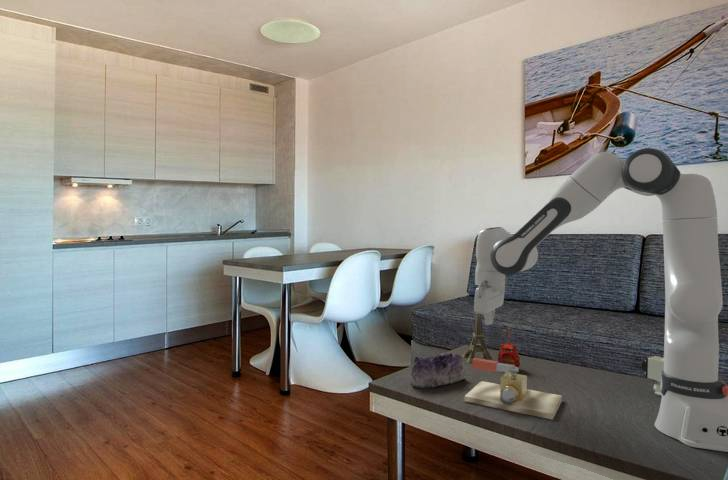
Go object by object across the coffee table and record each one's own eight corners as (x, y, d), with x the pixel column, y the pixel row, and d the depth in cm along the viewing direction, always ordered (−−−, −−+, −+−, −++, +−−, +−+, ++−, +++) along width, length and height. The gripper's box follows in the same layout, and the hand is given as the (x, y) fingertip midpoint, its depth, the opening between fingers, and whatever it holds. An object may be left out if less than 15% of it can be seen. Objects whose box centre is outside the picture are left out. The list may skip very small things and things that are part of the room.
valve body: (530, 391, 140) (530, 371, 140) (517, 408, 127) (518, 386, 126) (509, 387, 143) (510, 368, 143) (495, 404, 130) (495, 382, 130)
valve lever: (519, 375, 135) (519, 364, 135) (517, 377, 133) (517, 366, 133) (474, 367, 142) (475, 357, 142) (472, 370, 140) (472, 359, 140)
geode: (429, 394, 140) (426, 361, 141) (403, 389, 149) (400, 357, 150) (472, 378, 153) (469, 348, 153) (446, 374, 162) (443, 345, 163)
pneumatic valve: (682, 403, 135) (683, 362, 134) (640, 391, 145) (641, 352, 144) (691, 399, 138) (692, 359, 137) (649, 388, 148) (650, 350, 147)
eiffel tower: (495, 363, 173) (497, 296, 172) (467, 363, 173) (468, 296, 172) (487, 356, 183) (488, 293, 183) (461, 355, 183) (462, 292, 183)
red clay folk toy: (497, 370, 164) (497, 328, 164) (497, 365, 171) (498, 324, 170) (519, 373, 162) (520, 330, 161) (519, 367, 168) (520, 326, 168)
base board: (561, 400, 136) (562, 395, 136) (552, 419, 122) (552, 413, 122) (481, 385, 148) (481, 381, 148) (464, 401, 134) (464, 396, 134)
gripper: (490, 283, 133) (489, 331, 133) (508, 277, 151) (507, 319, 151) (469, 282, 136) (468, 328, 137) (489, 276, 154) (488, 317, 154)
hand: (488, 324), depth 144 cm, fingers closed
